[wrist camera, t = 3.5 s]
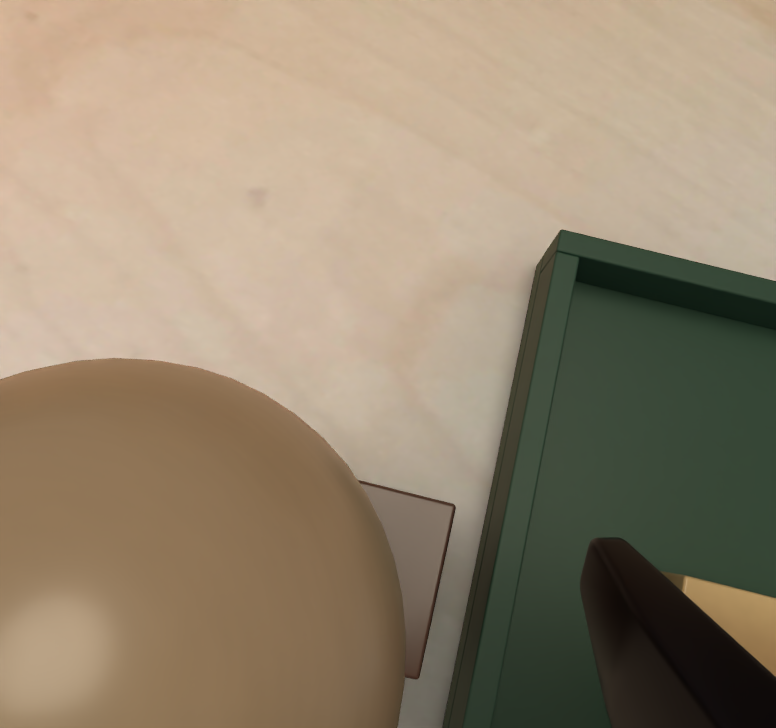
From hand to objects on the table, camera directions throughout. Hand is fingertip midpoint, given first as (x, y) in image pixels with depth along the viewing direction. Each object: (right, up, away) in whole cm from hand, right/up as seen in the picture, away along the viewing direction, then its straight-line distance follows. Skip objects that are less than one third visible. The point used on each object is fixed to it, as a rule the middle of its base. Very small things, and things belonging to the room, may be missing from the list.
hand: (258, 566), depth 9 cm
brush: (0, -2, +8) cm, 8 cm away
